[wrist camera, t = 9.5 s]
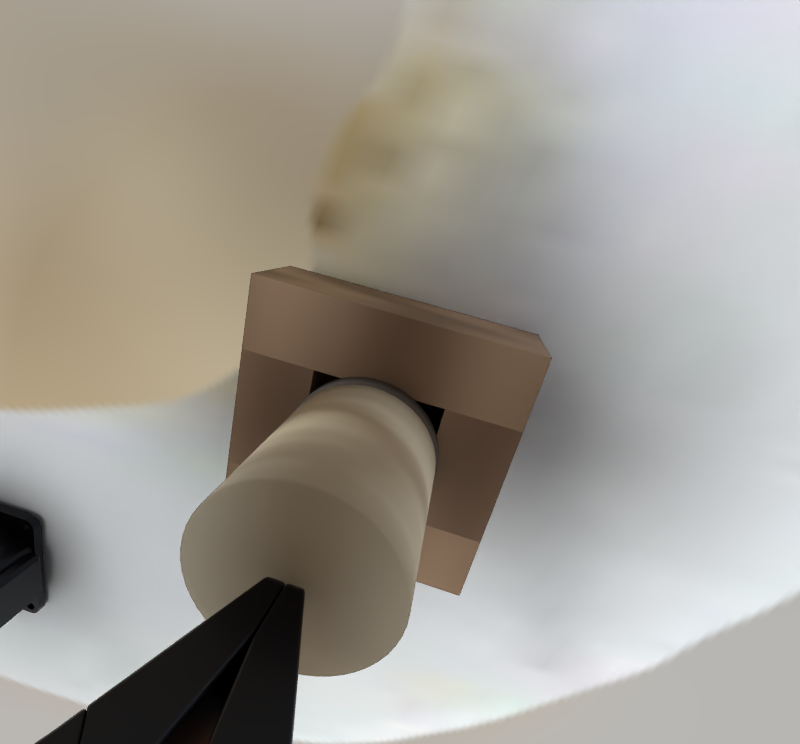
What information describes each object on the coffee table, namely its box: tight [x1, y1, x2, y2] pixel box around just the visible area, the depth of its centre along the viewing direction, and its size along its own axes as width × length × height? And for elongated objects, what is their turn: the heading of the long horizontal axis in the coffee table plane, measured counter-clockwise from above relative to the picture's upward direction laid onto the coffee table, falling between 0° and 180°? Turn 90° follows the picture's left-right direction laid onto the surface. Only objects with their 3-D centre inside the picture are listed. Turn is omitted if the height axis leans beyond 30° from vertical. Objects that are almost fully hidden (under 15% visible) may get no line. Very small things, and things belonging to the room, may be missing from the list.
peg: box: [180, 377, 439, 676], centre depth 13 cm, size 5×5×9 cm
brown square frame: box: [226, 266, 552, 595], centre depth 16 cm, size 9×9×3 cm
